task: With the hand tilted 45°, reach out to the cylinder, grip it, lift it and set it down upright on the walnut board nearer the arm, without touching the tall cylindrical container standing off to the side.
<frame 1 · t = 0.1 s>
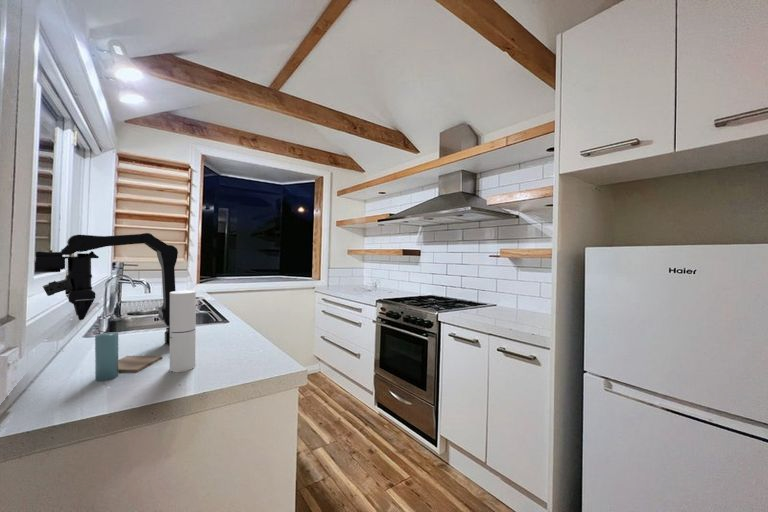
hand: (79, 317, 107), 15 cm above the countertop, tool pointing down, fingers open, 9 cm apart
walnut board: (131, 364, 105), on the countertop
cylinder: (107, 377, 95), on the countertop
cylindrical container: (182, 368, 104), on the countertop
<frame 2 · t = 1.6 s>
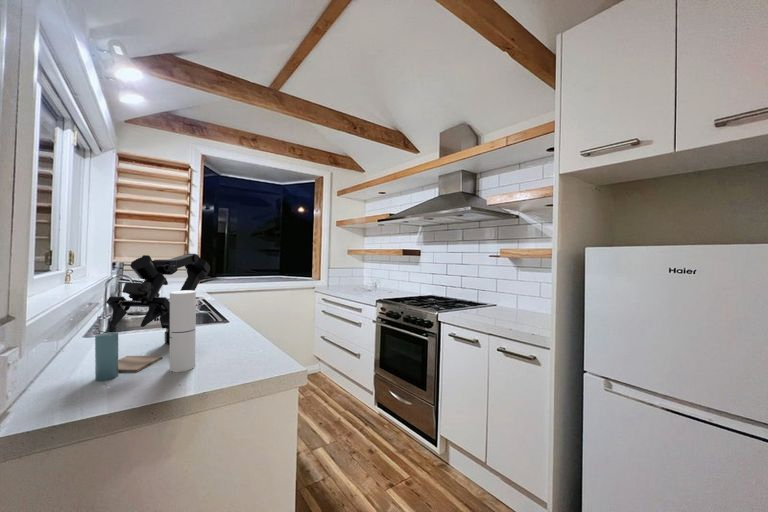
hand: (127, 326, 102), 13 cm above the countertop, tool tilted 45°, fingers open, 9 cm apart
nothing on the countertop moved.
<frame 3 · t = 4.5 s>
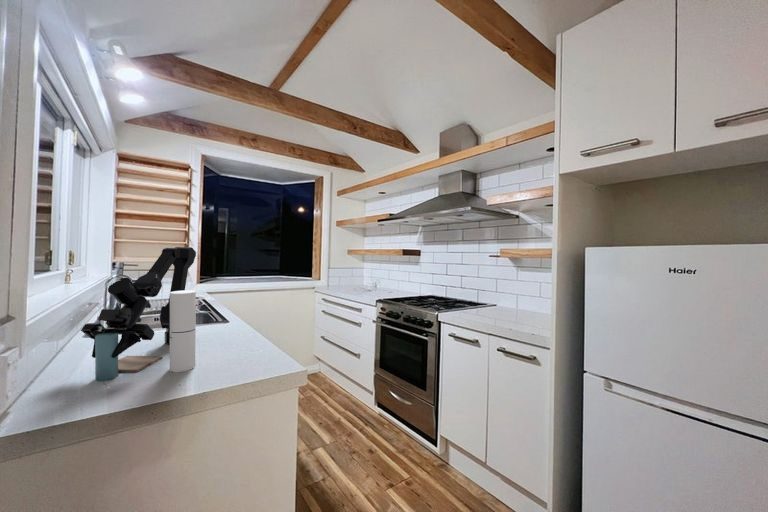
hand: (103, 357, 93), 7 cm above the countertop, tool tilted 45°, fingers closed on cylinder, 5 cm apart
cylinder: (107, 377, 95), on the countertop, touching gripper
everything else where it was.
when the fingers open (8 cm above the countertop, at t = 8.1 s): cylinder drops 1 cm, resting on walnut board.
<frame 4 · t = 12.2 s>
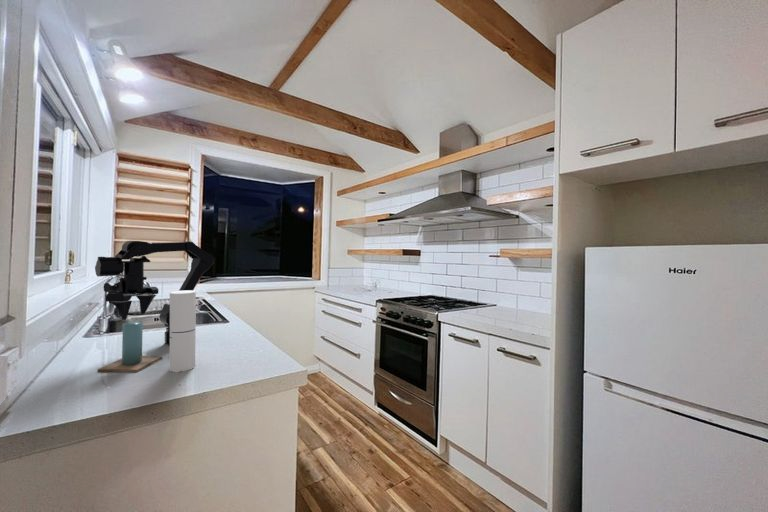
hand: (133, 316, 117), 13 cm above the countertop, tool pointing down, fingers open, 9 cm apart
cylinder: (132, 362, 105), point 1 cm above the countertop, touching walnut board
everything else where it was.
at the end: cylinder inside the target area on the walnut board (0.1 cm from its centre), point 0.8 cm above the walnut board's base; cylinder tilted 1°; cylindrical container moved 0.2 cm from its start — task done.
